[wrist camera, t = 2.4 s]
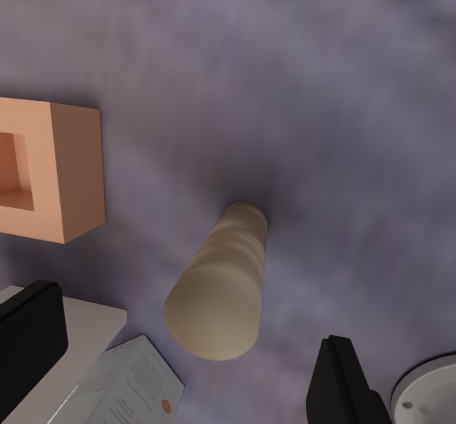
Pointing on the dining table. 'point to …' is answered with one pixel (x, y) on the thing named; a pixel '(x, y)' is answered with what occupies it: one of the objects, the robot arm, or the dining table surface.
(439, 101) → the dining table surface
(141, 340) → the small box
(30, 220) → the socket
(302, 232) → the dining table surface
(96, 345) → the lidded rectangular box
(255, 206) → the peg
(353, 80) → the dining table surface
